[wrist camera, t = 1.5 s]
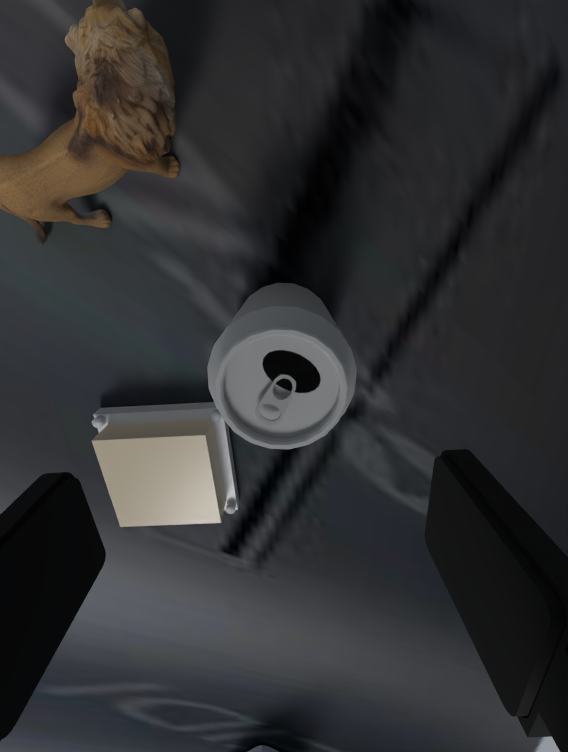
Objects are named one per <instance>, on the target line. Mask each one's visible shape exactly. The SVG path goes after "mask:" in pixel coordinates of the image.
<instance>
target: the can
mask: <svg viewBox="0 0 568 752" xmlns="http://www.w3.org/2000/svg"><path fill="white" fill-rule="evenodd" d="M207 369H208V386H209V391H210V393H211V396H212V398H213V400H214V403H215V405H216V408H217V409H218V410H219V412H220V414H221V416H222V418H223V419H224V420H225V422H226V423H227V424H228V425H229V426H230V427H231V429H232V430H233V431H234V432H235V433H236V434H238V435H240V436H241V437H243V438H244V439H246V440H247V441H249V442H250V443H253V444H256V445H260V446H263V447H266V448H269V449H292V448H297V447H301V446H305V445H309V444H310V443H312V442H314V441H316V440H318V439H319V438H321V437H323V436H325V435H326V434H327V433H328V432H329V431H330V430H331V429H332V428H333V427H334V426H335V425H336V424H337V423H338V422H339V420H340V417H341V416H342V415H343V414H344V413H345V411H346V409H347V407H348V405H349V403H350V401H351V399H352V397H353V395H354V390H355V382H356V374H357V371H356V367H355V362H354V358H353V353H352V350H351V348H350V347H349V345H348V343H347V342H346V340H345V338H344V337H343V335H342V333H341V332H340V330H339V328H338V327H337V325H336V323H335V322H334V320H333V318H332V317H331V315H330V313H329V312H328V310H327V308H326V307H325V305H324V304H323V302H322V300H321V299H320V298H319V297H317V296H316V295H315V294H314V293H313V292H311V291H310V290H309V289H307V288H304V287H302V286H299V285H296V284H294V283H275V284H272V285H268V286H265V287H262V288H260V289H259V290H258V291H256V292H255V293H253V294H252V295H250V296H249V297H248V299H247V300H246V301H245V303H244V304H243V305H242V307H241V308H240V310H239V311H238V312H237V314H236V315H235V317H234V318H233V319H232V321H231V322H230V324H229V325H228V326H227V328H226V329H225V331H224V332H223V333H222V335H221V336H220V338H219V339H218V340H217V342H216V343H215V345H214V346H213V350H212V353H211V357H210V360H209V363H208V367H207Z"/></svg>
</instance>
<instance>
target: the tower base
mask: <svg viewBox="0 0 568 752" xmlns="http://www.w3.org/2000/svg"><path fill="white" fill-rule="evenodd" d="M93 416H94V420H93V421H92V424H93V426H94V427H96V428H98V431H99V434H98V435H97V436H96V437H95V438H94V439H93V440H92V443H93V446H94V449H95V452H96V455H97V458H98V461H99V464H100V467H101V470H102V473H103V476H104V479H105V482H106V485H107V488H108V491H109V494H110V497H111V500H112V503H113V506H114V509H115V512H116V515H117V518H118V521H119V524H120V527H129V526H153V525H178V524H203V523H221V521H222V517H223V512H224V510H226V512H227V513H229V514H232V513H234V512H235V510H238V505H239V495H238V488H237V481H236V474H235V467H234V460H233V454H232V447H231V440H230V433H229V426H228V424H227V423H226V422H225V420H224V419H223V418H222V416H221V414H220V412H219V410H218V409H217V408H216V405H215V403H214V402H204V403H185V404H166V405H147V406H128V407H109V408H100V409H99V410H98V411H97V412H96V413H94V414H93Z"/></svg>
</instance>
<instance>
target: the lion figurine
mask: <svg viewBox="0 0 568 752" xmlns="http://www.w3.org/2000/svg"><path fill="white" fill-rule="evenodd" d="M65 42H66V44H67V46H68V47H69V48H70V49H71V50H72V51H73V52H74V54H75V66H76V70H77V75H78V82H77V90H75V91H74V93H73V100H74V104H75V107H76V109H77V111H76V115H75V118H73V119H72V120H70V121H68V122H66V123H65V124H63V125H62V126H61V127H59V128H58V129H57V130H56V131H54V132H53V133H52V134H51V135H50V136H49V137H48V138H47V139H46V140H45V141H44V142H43V143H41V144H40V145H39V146H38V147H36V148H35V149H33V150H31V151H29V152H26V153H22V154H13V155H3V156H0V209H2V210H4V211H7V212H9V213H11V214H14V215H16V216H18V217H20V218H22V219H24V220H26V221H27V222H29V223H30V224H31V225H32V226H33V228H34V229H35V233H36V237H37V239H38V243H39V244H40V245H43V244H44V242H46V241H47V239H48V237H47V233H46V231H45V229H44V227H43V226H42V225H41V224H40V223H39V222H38V221H46V222H60V221H69V222H71V223H74V224H78V225H91V226H95V227H100V228H107V227H109V226H110V224H111V218H110V216H109V215H108V213H107V212H106V211H104V210H96V211H93V212H91V213H79V212H76V211H75V210H74V209H73V208H72V207H71V206H70V205H68V204H67V200H69V199H72V198H75V197H80V196H85V195H90V194H94V193H97V192H100V191H102V190H104V189H106V188H108V187H109V186H111V185H113V184H114V183H115V182H117V181H118V180H119V179H120V178H121V177H122V176H124V175H125V174H126V173H127V172H128V170H129V169H131V170H136V171H142V172H151V173H156V174H159V175H161V176H165V177H169V178H175V177H177V176H178V175H179V172H180V166H179V163H178V162H177V161H176V159H175V158H174V157H173V156H170V157H163V156H162V155H163V154H165V153H168V152H169V151H170V146H171V142H170V138H171V137H172V136H174V134H175V132H176V125H175V109H174V105H175V97H174V95H175V91H174V84H175V82H174V80H173V74H172V71H171V64H170V60H169V56H168V50H167V48H166V46H165V44H164V40H163V38H162V37H161V36H160V35H159V33H158V32H157V31H155V30H154V28H153V27H152V26H150V24H149V22H147V20H146V19H145V17H144V15H143V13H142V12H141V11H140V10H139V9H137V8H133V9H131V10H128V11H127V9H126V6H125V4H124V3H123V2H122V1H121V0H93V5H91V6H90V7H88V8H87V9H86V12H85V17H83V18H81V19H80V22H79V25H78V24H75V25H72V26H71V27H70V29H69V33H68V34H67V35H66V37H65ZM37 220H38V221H37Z"/></svg>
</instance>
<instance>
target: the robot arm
mask: <svg viewBox="0 0 568 752" xmlns="http://www.w3.org/2000/svg"><path fill="white" fill-rule="evenodd" d="M425 541H426V545H427V548H428V550H429V552H430V554H431V556H432V558H433V560H434V563H435V565H436V567H437V569H438V571H439V573H440V575H441V577H442V579H443V581H444V583H445V585H446V587H447V589H448V592H449V594H450V596H451V598H452V600H453V602H454V604H455V606H456V608H457V610H458V612H459V614H460V616H461V618H462V621H463V623H464V625H465V627H466V629H467V631H468V633H469V635H470V637H471V639H472V641H473V643H474V645H475V647H476V650H477V652H478V654H479V656H480V658H481V660H482V662H483V664H484V666H485V668H486V670H487V672H488V674H489V677H490V679H491V681H492V683H493V685H494V687H495V689H496V691H497V693H498V695H499V697H500V699H501V701H502V703H503V705H504V707H505V709H506V710H507V711H508V713H509V714H510V715H511V716H517V717H518V719H519V721H520V723H521V725H522V727H523V729H524V731H525V733H526V735H527V737H548V736H552V737H553V739H554V741H555V743H556V745H557V746H558V748H559V750H560V752H568V557H567V556H566V555H565V554H564V553H563V552H562V551H561V549H560V548H559V547H558V546H557V545H556V544H555V543H554V542H553V541H552V540H551V539H550V537H549V536H548V535H547V534H546V533H545V532H544V531H543V530H542V529H541V528H540V527H539V525H538V524H537V523H536V522H535V521H534V520H533V519H532V518H531V517H530V516H529V514H528V513H527V512H526V511H525V510H524V509H523V508H522V507H521V506H520V505H519V504H518V503H517V502H516V501H515V500H514V498H513V497H512V496H511V495H510V494H509V493H508V492H507V491H506V490H505V489H504V488H503V486H502V485H501V484H500V483H499V482H498V481H497V480H496V479H495V478H494V477H493V476H492V474H491V473H490V472H489V471H488V470H487V469H486V468H485V467H484V466H483V465H482V463H481V462H480V461H479V460H478V459H477V458H476V457H475V456H474V455H473V454H472V453H471V452H470V451H469V450H467V449H461V450H445V451H443V452H442V453H441V456H440V457H436V458H435V461H434V468H433V475H432V483H431V490H430V498H429V506H428V513H427V521H426V528H425ZM105 556H106V553H105V549H104V546H103V543H102V541H101V538H100V535H99V532H98V530H97V527H96V524H95V522H94V519H93V516H92V514H91V511H90V508H89V505H88V503H87V500H86V497H85V495H84V492H83V489H82V486H81V484H80V481H79V480H78V479H77V478H74V476H73V475H72V474H71V473H68V472H63V473H47V474H43V475H42V476H40V477H39V478H38V479H37V480H36V481H35V482H34V483H33V484H32V485H31V486H30V487H29V488H28V489H27V490H25V491H24V492H23V493H22V494H21V495H20V496H19V497H18V498H17V499H16V500H15V501H14V502H13V503H12V504H11V505H10V506H9V507H8V508H7V509H6V510H5V511H4V512H3V513H2V514H1V515H0V741H1V739H3V738H5V737H6V736H7V735H8V734H9V733H10V732H11V731H12V729H13V727H14V726H15V724H16V723H17V721H18V719H19V717H20V715H21V714H22V712H23V710H24V708H25V706H26V704H27V703H28V701H29V699H30V697H31V695H32V694H33V692H34V690H35V688H36V686H37V685H38V683H39V681H40V679H41V677H42V676H43V674H44V672H45V670H46V668H47V666H48V665H49V663H50V661H51V659H52V657H53V656H54V654H55V652H56V650H57V648H58V647H59V645H60V643H61V641H62V639H63V637H64V636H65V634H66V632H67V630H68V628H69V627H70V625H71V623H72V621H73V619H74V618H75V616H76V614H77V612H78V610H79V609H80V607H81V605H82V603H83V601H84V599H85V598H86V596H87V594H88V592H89V590H90V589H91V587H92V585H93V583H94V581H95V580H96V578H97V576H98V574H99V572H100V570H101V569H102V567H103V565H104V562H105Z"/></svg>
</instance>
